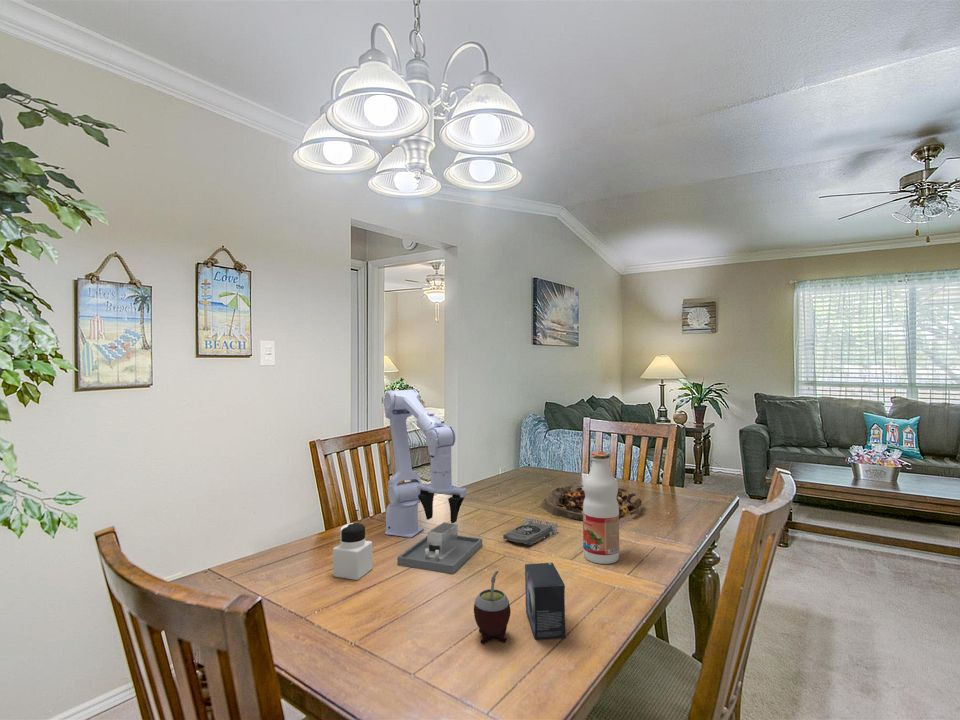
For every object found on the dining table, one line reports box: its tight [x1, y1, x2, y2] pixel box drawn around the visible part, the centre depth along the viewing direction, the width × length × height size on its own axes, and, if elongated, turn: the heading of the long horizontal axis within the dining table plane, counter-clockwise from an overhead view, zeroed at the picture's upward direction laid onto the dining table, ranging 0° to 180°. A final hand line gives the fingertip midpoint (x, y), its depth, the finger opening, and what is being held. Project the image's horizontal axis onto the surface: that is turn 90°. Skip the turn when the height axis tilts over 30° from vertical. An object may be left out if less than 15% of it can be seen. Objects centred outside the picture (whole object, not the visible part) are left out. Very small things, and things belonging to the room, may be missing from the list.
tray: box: [396, 535, 483, 575], centre depth 136 cm, size 16×20×4 cm
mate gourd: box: [473, 570, 511, 645], centre depth 96 cm, size 8×8×15 cm
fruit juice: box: [582, 451, 620, 565], centre depth 133 cm, size 9×9×28 cm
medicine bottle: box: [332, 522, 373, 581], centre depth 125 cm, size 7×7×12 cm
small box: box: [524, 562, 567, 641], centre depth 100 cm, size 11×6×10 cm, turn 5°
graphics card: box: [502, 516, 558, 546], centre depth 150 cm, size 17×4×12 cm
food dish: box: [540, 484, 643, 521], centre depth 178 cm, size 35×33×8 cm
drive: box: [426, 521, 459, 557], centre depth 137 cm, size 4×9×6 cm, turn 155°
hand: (441, 520), depth 137 cm, fingers open, 7 cm apart
